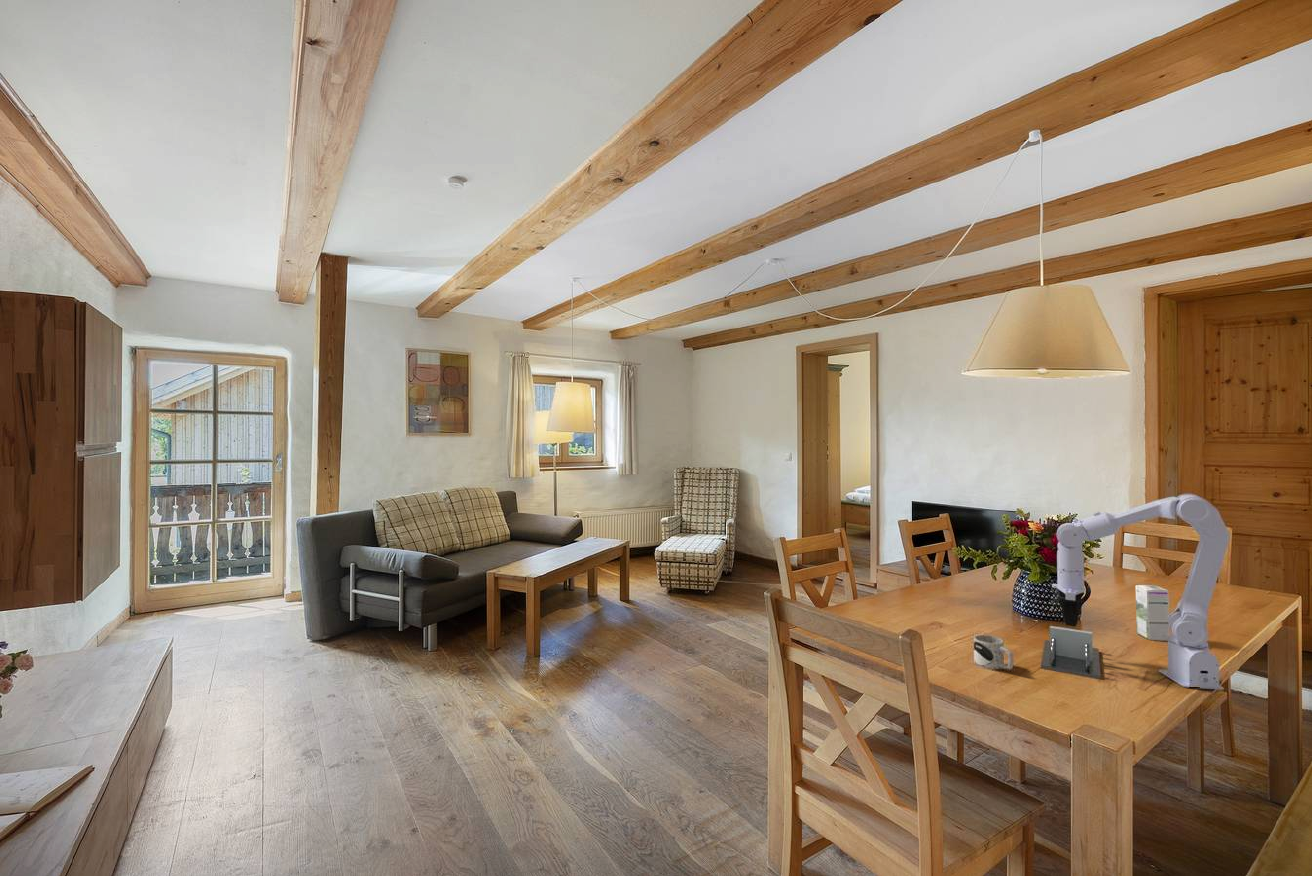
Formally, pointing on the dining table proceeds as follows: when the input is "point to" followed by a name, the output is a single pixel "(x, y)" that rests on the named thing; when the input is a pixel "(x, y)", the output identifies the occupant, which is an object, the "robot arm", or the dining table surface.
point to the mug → (991, 652)
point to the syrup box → (1152, 612)
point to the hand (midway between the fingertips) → (1071, 621)
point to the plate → (1071, 642)
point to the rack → (1071, 662)
